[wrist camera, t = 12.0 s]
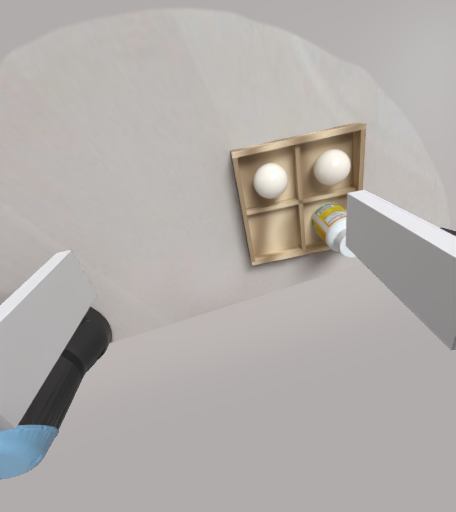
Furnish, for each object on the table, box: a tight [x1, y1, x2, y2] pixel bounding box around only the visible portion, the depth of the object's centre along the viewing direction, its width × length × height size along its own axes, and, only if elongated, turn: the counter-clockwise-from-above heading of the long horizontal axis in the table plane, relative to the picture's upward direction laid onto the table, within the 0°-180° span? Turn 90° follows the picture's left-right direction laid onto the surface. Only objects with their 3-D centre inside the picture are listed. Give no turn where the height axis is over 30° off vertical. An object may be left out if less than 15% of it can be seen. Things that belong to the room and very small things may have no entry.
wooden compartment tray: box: [230, 123, 366, 266], centre depth 40 cm, size 18×18×3 cm
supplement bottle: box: [311, 203, 356, 258], centre depth 38 cm, size 5×5×10 cm
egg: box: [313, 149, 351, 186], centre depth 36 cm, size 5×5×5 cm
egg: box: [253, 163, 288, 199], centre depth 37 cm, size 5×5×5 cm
